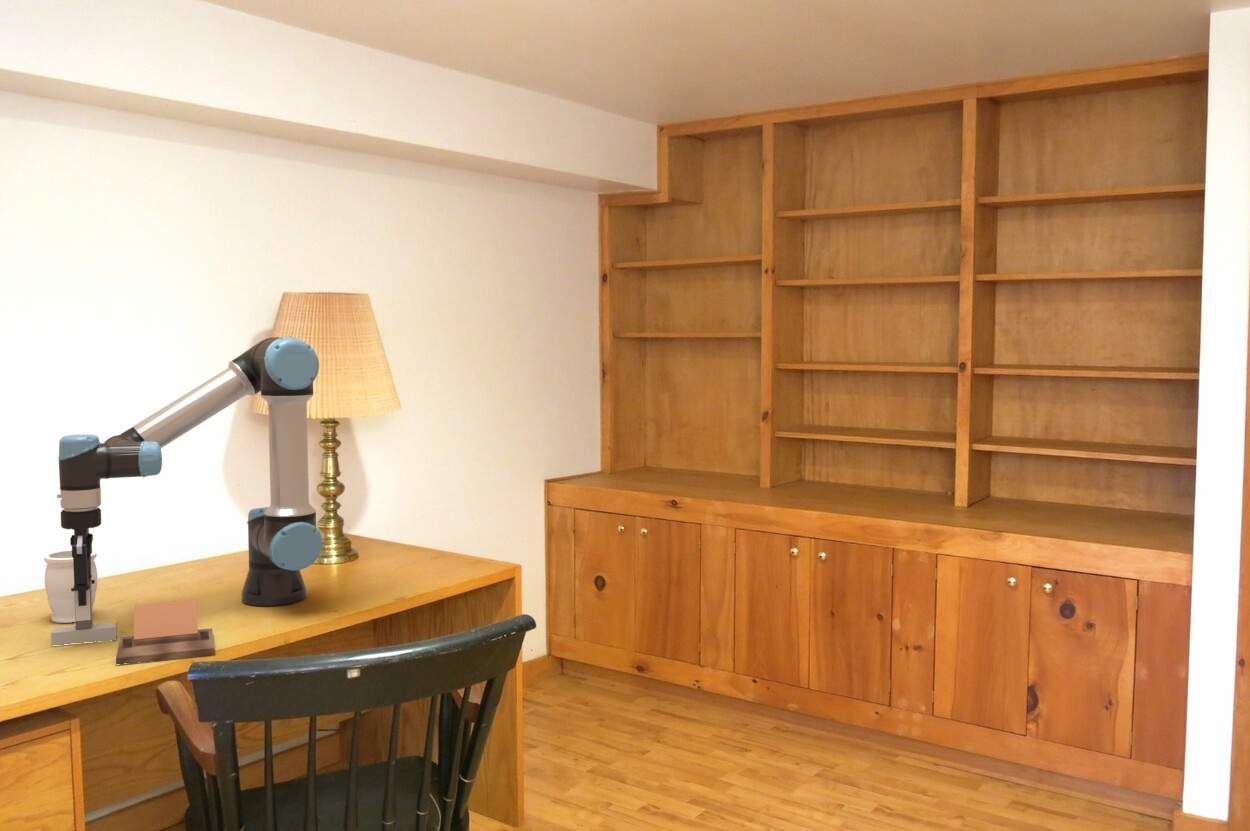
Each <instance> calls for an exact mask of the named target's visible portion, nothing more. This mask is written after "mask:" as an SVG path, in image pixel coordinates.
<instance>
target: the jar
mask: <svg viewBox="0 0 1250 831" xmlns="http://www.w3.org/2000/svg"><path fill="white" fill-rule="evenodd" d="M43 558H44V559H43V560H44V562H45V563H46V567H45V573H44V588H45V593H46V596H47V603H48V606H49V609H50V610H51V612H52V613H53V614H52V616H51V619H50V620H51V621H52V622H53V623H58V624H71V623H72V622H74V623H76V622H75V591H71V588H74V566H73V557H72V550H64V551H57V552H52V553H49V554H46V555H45V556H44V557H43ZM96 558H97V551H95V550H92V553H91V575H92V578H91V579H92V580H95V584H92V607H93V606H94V604H95V600H96V592H97V589H98V569H97V565H96V562H95V559H96ZM72 624H73V623H72Z"/></svg>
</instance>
